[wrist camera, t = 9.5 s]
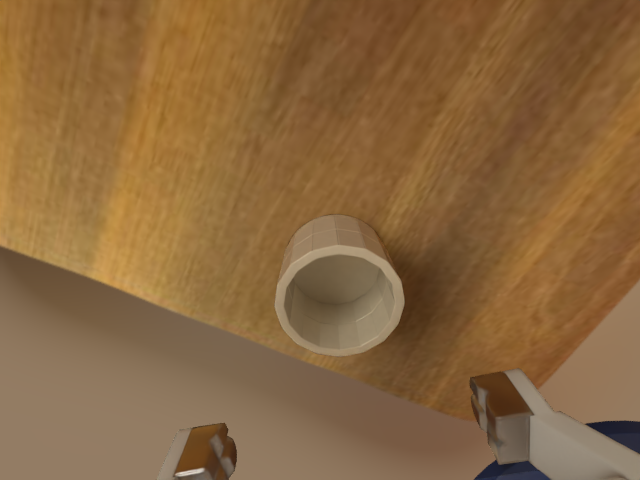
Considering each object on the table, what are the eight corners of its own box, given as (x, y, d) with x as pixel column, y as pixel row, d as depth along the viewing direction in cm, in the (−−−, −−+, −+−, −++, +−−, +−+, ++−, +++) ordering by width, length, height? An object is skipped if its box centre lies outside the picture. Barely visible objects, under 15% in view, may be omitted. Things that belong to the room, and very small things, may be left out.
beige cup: (392, 295, 23) (411, 344, 18) (298, 314, 23) (293, 366, 19) (376, 203, 20) (393, 232, 16) (272, 227, 21) (259, 261, 16)
